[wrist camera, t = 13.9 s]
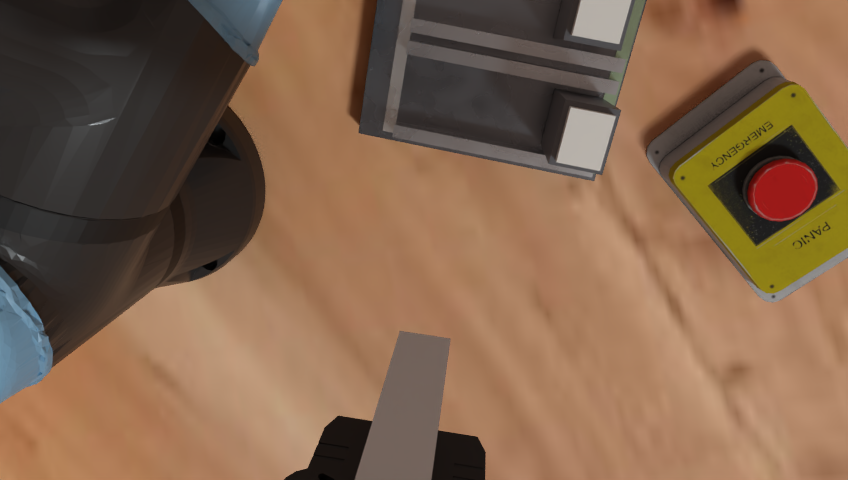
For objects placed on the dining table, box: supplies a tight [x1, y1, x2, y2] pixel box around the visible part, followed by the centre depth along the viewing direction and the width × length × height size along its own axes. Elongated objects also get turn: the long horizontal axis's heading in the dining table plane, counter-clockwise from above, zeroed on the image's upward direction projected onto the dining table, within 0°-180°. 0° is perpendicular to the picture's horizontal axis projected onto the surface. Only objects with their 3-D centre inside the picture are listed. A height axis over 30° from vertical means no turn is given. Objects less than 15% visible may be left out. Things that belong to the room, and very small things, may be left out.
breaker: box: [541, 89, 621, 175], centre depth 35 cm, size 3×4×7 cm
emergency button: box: [646, 60, 848, 302], centre depth 38 cm, size 9×4×15 cm
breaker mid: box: [553, 0, 635, 51], centre depth 33 cm, size 3×4×7 cm
